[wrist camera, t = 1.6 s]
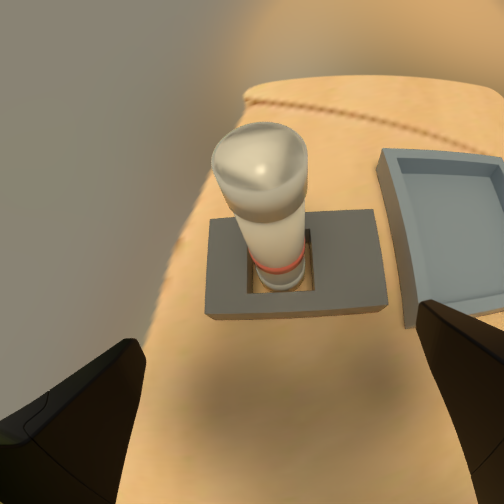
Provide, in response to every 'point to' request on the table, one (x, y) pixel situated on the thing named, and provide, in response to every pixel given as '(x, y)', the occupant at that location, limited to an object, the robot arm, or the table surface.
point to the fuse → (267, 197)
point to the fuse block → (322, 266)
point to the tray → (446, 228)
